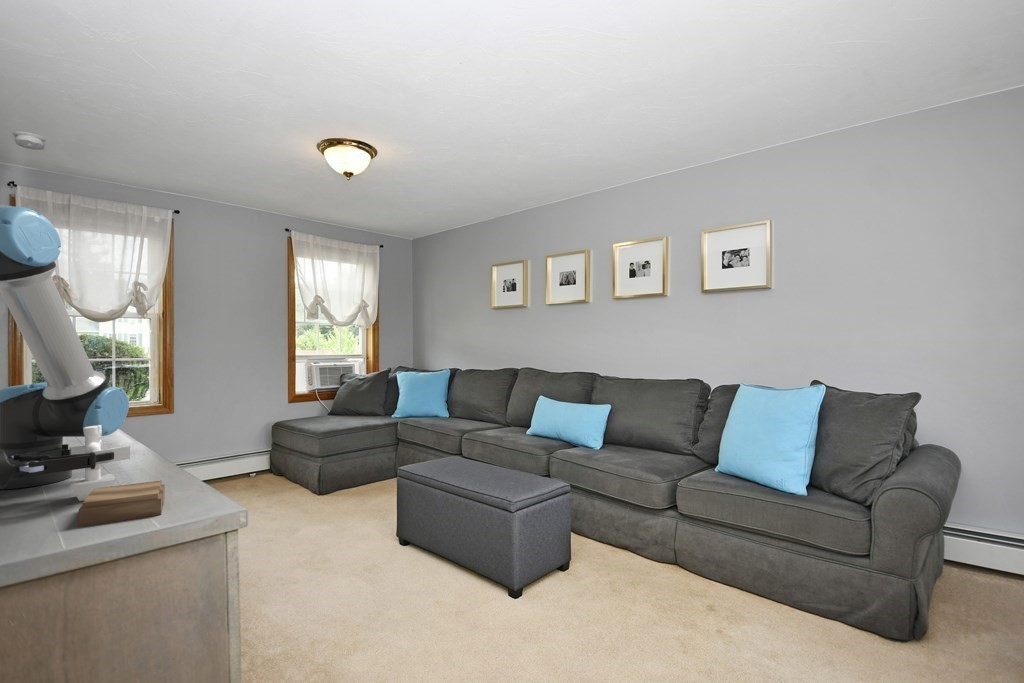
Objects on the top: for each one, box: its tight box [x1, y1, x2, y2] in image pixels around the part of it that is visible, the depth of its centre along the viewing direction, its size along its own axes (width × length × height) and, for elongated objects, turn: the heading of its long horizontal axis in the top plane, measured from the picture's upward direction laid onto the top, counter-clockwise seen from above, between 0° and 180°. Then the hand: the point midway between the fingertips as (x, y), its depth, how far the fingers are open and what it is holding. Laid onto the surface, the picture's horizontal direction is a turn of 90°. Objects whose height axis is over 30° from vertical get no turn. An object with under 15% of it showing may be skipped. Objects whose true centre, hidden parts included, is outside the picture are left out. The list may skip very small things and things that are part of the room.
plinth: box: [78, 480, 166, 528], centre depth 98 cm, size 12×12×4 cm
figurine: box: [69, 425, 116, 502], centre depth 108 cm, size 7×9×15 cm
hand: (117, 450), depth 112 cm, fingers closed on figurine, 9 cm apart
